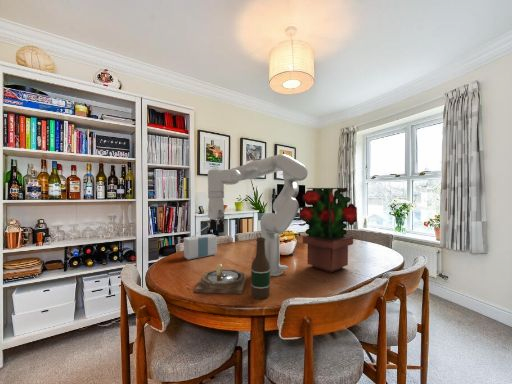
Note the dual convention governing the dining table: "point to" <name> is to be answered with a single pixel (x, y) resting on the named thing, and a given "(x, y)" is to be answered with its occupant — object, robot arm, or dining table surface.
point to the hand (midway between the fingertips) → (216, 230)
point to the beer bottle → (260, 272)
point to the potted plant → (327, 227)
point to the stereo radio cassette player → (200, 246)
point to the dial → (222, 276)
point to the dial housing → (222, 284)
